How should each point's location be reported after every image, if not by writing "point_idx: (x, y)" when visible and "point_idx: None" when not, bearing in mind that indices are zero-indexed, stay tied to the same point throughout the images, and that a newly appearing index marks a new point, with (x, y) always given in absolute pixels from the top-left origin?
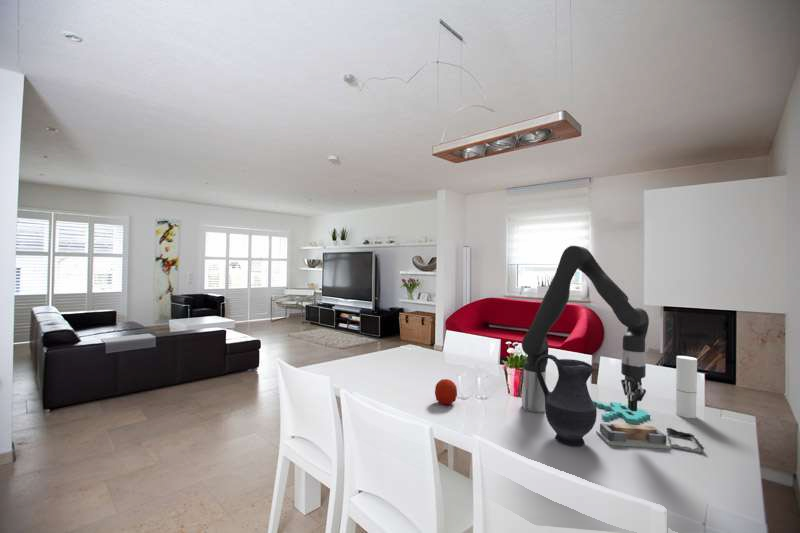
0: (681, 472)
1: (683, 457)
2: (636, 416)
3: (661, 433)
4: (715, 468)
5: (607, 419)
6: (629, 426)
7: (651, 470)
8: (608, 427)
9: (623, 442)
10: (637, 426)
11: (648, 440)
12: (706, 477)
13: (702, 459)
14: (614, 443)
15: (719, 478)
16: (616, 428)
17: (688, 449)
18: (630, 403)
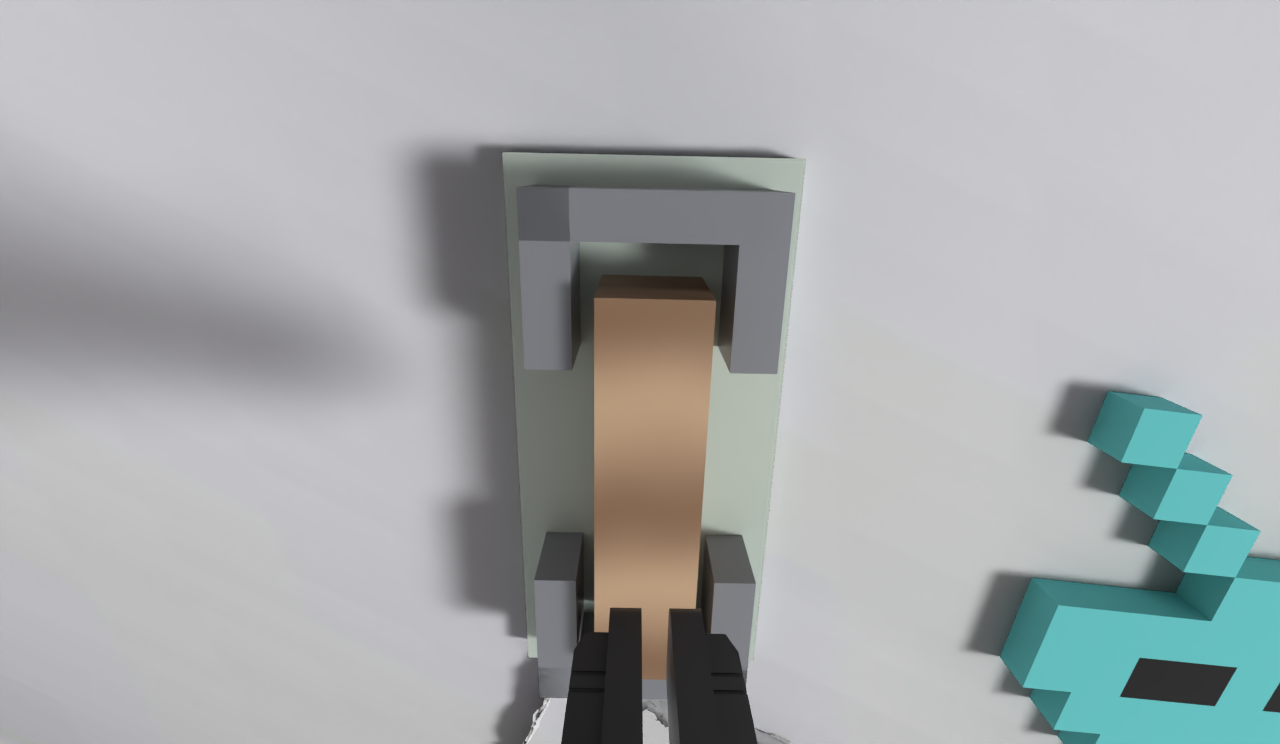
0: (140, 510)
1: (404, 645)
2: (1095, 698)
3: None
4: (290, 735)
5: (1104, 430)
6: (650, 473)
7: (78, 306)
8: (670, 242)
9: (520, 311)
10: (662, 554)
11: (564, 541)
12: (129, 622)
13: (406, 735)
14: (509, 219)
15: (148, 683)
16: (596, 306)
17: (531, 736)
18: (614, 700)
